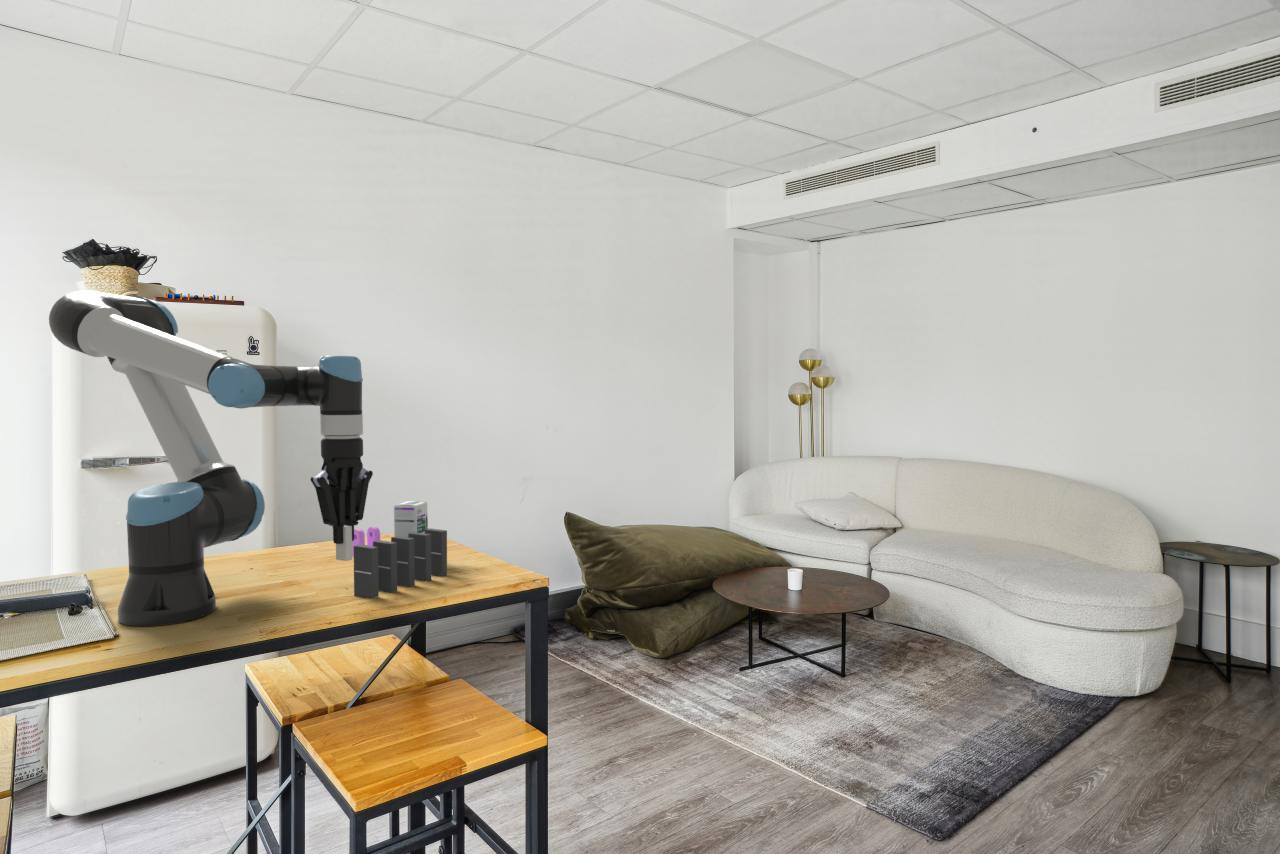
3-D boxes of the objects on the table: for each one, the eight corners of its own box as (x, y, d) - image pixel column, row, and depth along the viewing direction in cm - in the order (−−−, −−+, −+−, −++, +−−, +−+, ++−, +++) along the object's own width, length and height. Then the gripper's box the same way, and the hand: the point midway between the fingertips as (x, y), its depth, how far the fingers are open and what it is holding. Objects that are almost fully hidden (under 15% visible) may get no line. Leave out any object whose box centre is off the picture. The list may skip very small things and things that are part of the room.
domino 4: (408, 578, 166) (408, 533, 165) (414, 577, 167) (413, 532, 167) (425, 581, 164) (425, 535, 163) (431, 580, 165) (431, 534, 165)
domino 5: (424, 573, 170) (424, 529, 170) (430, 572, 172) (429, 528, 171) (441, 576, 168) (441, 531, 168) (447, 575, 170) (447, 530, 169)
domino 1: (353, 595, 153) (353, 546, 152) (360, 593, 154) (360, 544, 154) (372, 598, 150) (371, 548, 150) (378, 596, 152) (378, 547, 151)
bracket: (351, 556, 187) (351, 528, 187) (372, 553, 192) (372, 525, 191) (380, 565, 179) (380, 535, 179) (401, 561, 183) (401, 532, 183)
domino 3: (391, 584, 161) (390, 537, 161) (397, 582, 163) (396, 535, 162) (409, 587, 159) (408, 539, 159) (414, 585, 161) (414, 538, 160)
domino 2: (373, 589, 157) (372, 541, 156) (379, 587, 159) (379, 540, 158) (391, 592, 155) (390, 544, 154) (397, 590, 156) (397, 542, 156)
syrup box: (417, 567, 176) (416, 505, 176) (393, 565, 178) (393, 504, 177) (428, 561, 182) (428, 501, 181) (406, 560, 183) (405, 500, 182)
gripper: (355, 434, 153) (357, 551, 154) (299, 438, 141) (301, 564, 143) (382, 435, 149) (384, 554, 151) (327, 439, 138) (329, 568, 139)
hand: (344, 559), depth 147 cm, fingers closed
